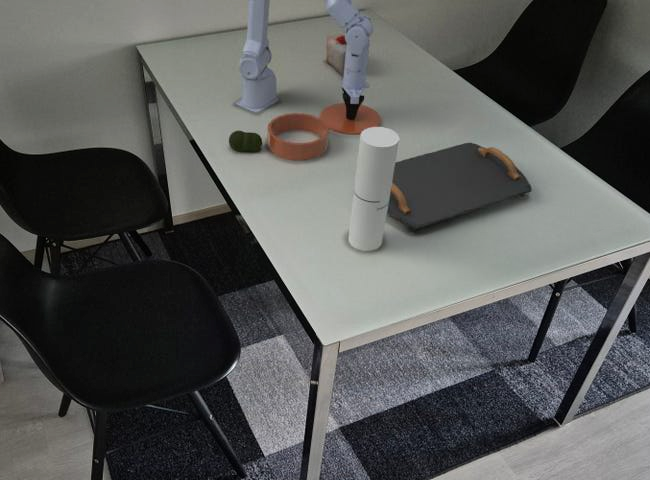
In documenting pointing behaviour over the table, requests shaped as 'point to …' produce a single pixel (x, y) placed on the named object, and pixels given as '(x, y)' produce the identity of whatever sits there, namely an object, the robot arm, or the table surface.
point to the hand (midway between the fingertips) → (350, 115)
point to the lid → (341, 124)
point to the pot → (298, 149)
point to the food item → (336, 52)
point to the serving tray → (452, 184)
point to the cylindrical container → (372, 187)
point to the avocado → (245, 141)
